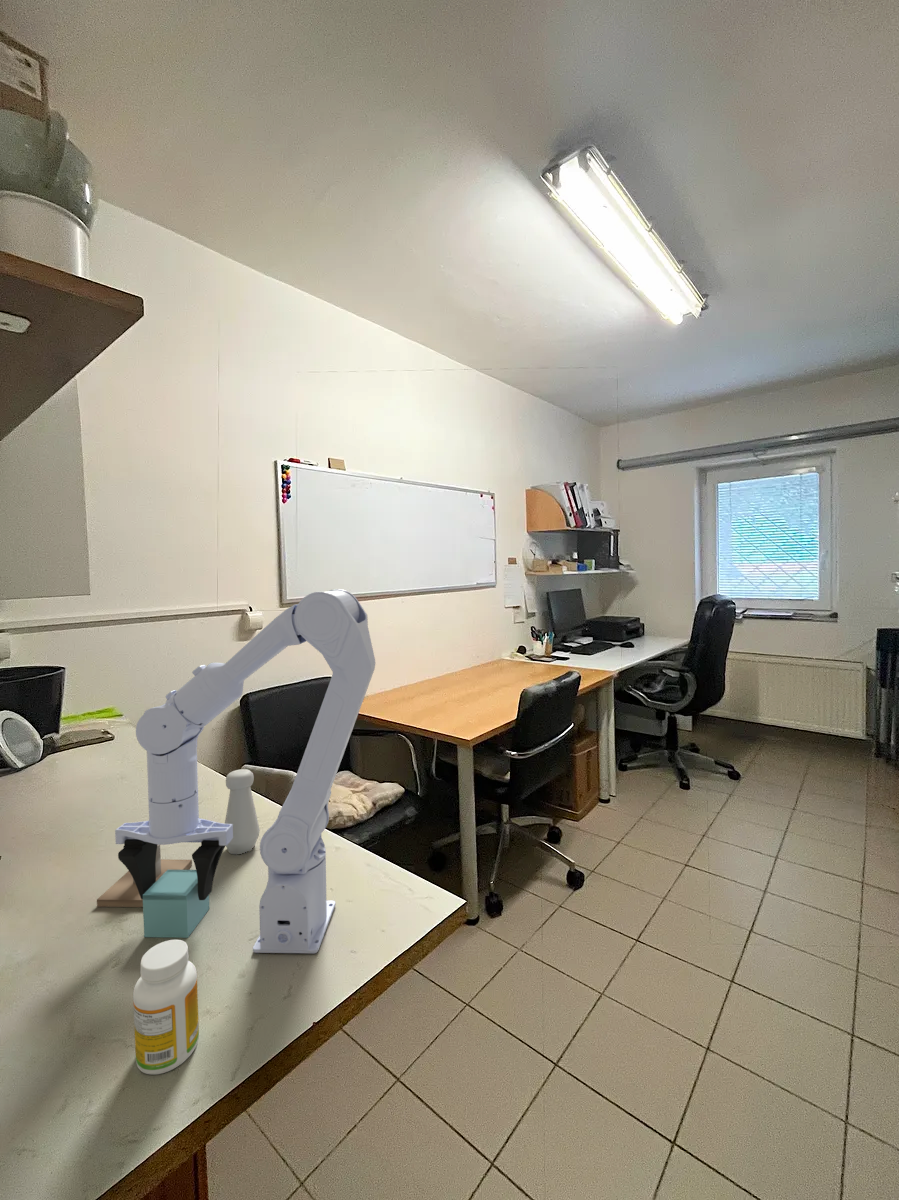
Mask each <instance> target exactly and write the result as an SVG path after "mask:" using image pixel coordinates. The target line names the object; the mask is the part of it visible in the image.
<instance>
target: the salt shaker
mask: <svg viewBox="0 0 899 1200" xmlns="http://www.w3.org/2000/svg"><path fill="white" fill-rule="evenodd" d="M254 778H255V776H254V773H253V772H252V771H251V770H250V769H246V768H242V769H236V770H233V771H230V772H229V773H228V774H227V775H226V777H225V786H226V788H227V789H228V790H229V795H228V801H227V809H226V814H225V820H224V824H233V838H232V840H231V841H230V842H229V843H228V844H227V845H226V846H225V848H226V849H227V852H228V853H229V854H231V855H237V854H241V855H242V853H244V854H246V853H248V852H247V851H249V852H251V851H252V850H253V849H254V847H255V846H254V845H256V843H257V841H258V838H259V837H260V836H259V835H260V830H261V829H260V825H259V820H258V816H257V812H256V807H255V801H254V796H253V793H252V788H251V786H253V784H254ZM252 848H253V849H252ZM250 850H251V851H250ZM245 852H246V853H245Z"/></svg>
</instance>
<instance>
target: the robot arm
mask: <svg viewBox="0 0 899 1200" xmlns="http://www.w3.org/2000/svg"><path fill="white" fill-rule="evenodd" d="M368 619H369V618H368V614H367V612H366V611H365V609H364V607H363V606H362V605H361V603H360V602H359V600H358V599H357V597H356V596H355V595H354V594H353V593H351V592H350V591H348V590H345V589H341V588H333V589H330V590H327V591H314V592H311V593H308V594H307V595H305V596H304V597H303V598H301V600H300V601H299V602H298V603H297V604H293V605H291V606H290V607H288V608H286V609H285V610H284V611H282V612H281V613H280V614H279V615H277V616H276V617H275V618H274V619H273V620H272V621H270V622H269V623H268V624H267V625H266V626H265V627H264V628H263V629H262V630H260V631H259V632H258V633H257V634H256V635H255V636H254V637H253V638H252V639H251V640H250V641H248V642H247V643H246V644H245V645H244V646H243V647H242V648H241V649H240V650H238V651H237V652H236V653H235V654H234V655H233V656H232V657H231V658H230V659H228V661H226V663H225V662H216V661H215V662H211V663H209V664H208V665H206V664H202V665H199V666H197V667H196V668H195V669H194V670H193V671H192V672H191V673H192V674H193V675H194V676H193V677H192V678H191V679H189V680H188V681H187V682H185V684H183V685H182V686H181V687H180V688H179V689H178V690H177V689H174V690H171V691H169V692H168V693H167V694H166V695H165V698H166V701H165V703H163V704H162V705H158V706H154V707H150V708H149V709H146V710H145V711H144V713H143V715H141V717H140V718H139V719H138V721H137V723H136V726H135V737H136V740H137V742H138V744H139V745H140V746H141V747H142V749H144V751H146V767H147V769H146V771H147V795H148V796H147V797H148V798H147V799H148V800H147V802H148V820H143V821H142V820H141V821H134V822H124V823H122V824H121V825H120V826H118V827H117V828H116V829H115V830H114V832H115V835H114V837H115V839H114V840H115V845H123V848H122V849H121V850H120V851H118V853H117V854H118V855H117V857H118V860H119V861H120V862H121V863H122V864H123V865H124V866H125V868H126V870H128V871H129V872H130V873H131V875H132V877H133V879H134V881H135V884H136V886H137V889H138V892H139V894H140V897H141V899H143V894H144V893H145V892H146V891H147V890H148V889H149V888H150V887H151V886H152V885H153V884H154V883H155V882H156V867H155V862H156V852H157V845H160V846H162V845H163V846H164V845H174V844H179V843H194V844H195V843H199V844H200V846H198V847H197V848H196V850H195V851H193V853H192V854H191V857H192V859H191V860H192V862H194V866H195V870H196V872H197V879H198V897H199V900H205V899H206V898H207V896H208V895H209V896H210V894H211V893H212V890H213V884H214V879H215V875H216V871H217V868H218V864H219V862H220V859H221V857H222V854H223V852H224V849H225V848H226V845H227V844H228V843H229V842H230V841H231V840H232V838H233V824H225V822H224V823H222V822H218V821H214V820H209V819H205V818H200V817H199V816H200V814H199V813H200V812H199V811H200V810H199V785H198V784H199V781H198V780H199V776H198V774H199V773H198V751H197V750H198V738H199V736H200V735H201V733H202V732H203V730H204V728H205V727H206V726H207V725H208V724H209V723H211V722H212V721H213V720H214V719H216V718H217V717H218V716H219V715H220V714H221V713H222V712H224V711H226V709H228V708H229V707H230V706H231V705H232V704H234V703H235V702H236V701H237V700H238V699H239V698H240V697H242V695H243V693H244V683H245V680H247V679H248V678H250V676H252V675H253V674H254V673H255V672H257V671H258V670H259V669H260V668H262V667H264V666H265V665H266V664H267V663H268V662H269V661H271V660H272V659H274V658H275V657H276V656H277V655H279V654H280V653H281V652H283V651H284V650H285V649H286V648H288V647H290V646H297V645H298V646H299V645H301V644H303V643H305V642H307V643H309V645H311V646H312V647H313V648H314V649H315V650H317V652H319V653H320V654H321V655H322V656H323V658H324V660H325V662H326V663H327V665H328V666H329V668H330V669H331V671H332V674H331V675H332V676H331V677H330V680H329V683H328V687H327V689H326V691H325V694H324V698H323V700H322V703H321V706H320V708H319V711H318V714H317V715H316V716H317V717H316V719H315V722H314V725H313V728H312V731H311V733H310V736H309V739H308V742H307V745H306V747H305V750H304V753H303V756H302V759H301V761H300V764H299V766H298V770H297V773H296V776H295V777H294V781H293V783H292V786H291V789H290V791H289V793H288V794H287V796H286V798H285V801H283V804H282V806H281V808H280V811H279V813H278V815H277V818H276V819H275V821H273V823H272V825H271V826H270V827H269V828H268V829H266V831H265V832H264V833H263V835H262V837H261V840H260V842H259V852H260V857H261V859H262V861H263V863H264V864H265V865H266V866H267V871H268V873H267V875H268V876H267V877H268V878H267V883H266V887H265V889H264V891H263V893H262V895H261V897H260V900H259V905H258V907H259V909H258V911H259V912H258V913H259V914H258V915H259V935H258V936H257V939H256V941H255V942H254V945H253V946H252V952H253V953H259V954H260V953H261V954H262V953H264V954H265V953H266V954H267V953H268V954H269V953H270V954H275V953H276V954H316V953H317V952H319V949H320V947H321V944H322V942H323V939H324V936H325V934H326V931H327V928H328V926H329V923H330V921H331V918H332V915H333V913H334V911H335V908H336V901H335V900H330V899H329V900H328V899H327V860H326V859H327V856H326V855H327V853H326V849H327V848H326V846H325V843H324V840H323V838H322V833H324V831H325V829H326V828H327V826H328V825H329V821H330V811H329V801H330V798H331V795H332V788H333V784H334V782H335V778H336V776H337V774H338V773H337V772H338V770H339V768H340V765H341V762H342V759H343V757H344V755H345V751H346V748H347V747H348V743H349V740H350V738H351V735H352V732H353V729H354V727H355V723H356V721H357V719H358V715H359V712H360V710H361V707H362V704H363V703H364V699H365V697H366V694H367V691H368V688H369V686H370V682H371V680H372V677H373V674H374V672H375V670H376V669H375V668H376V657H375V654H374V653H375V652H374V648H373V645H372V644H373V643H372V639H371V635H370V630H369V621H368Z"/></svg>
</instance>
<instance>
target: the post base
mask: <svg viewBox="0 0 899 1200" xmlns="http://www.w3.org/2000/svg"><path fill="white" fill-rule="evenodd" d="M192 866H193V859H168V858H167V859H166V858H165V859H162V858H161V845H157V852H156V862H155V867H156V881H157V880H158V879H159V878H160V877H161V876H162V875H163V874H164V873H165V872H166V871H167V870H191V868H192ZM96 906H97V907H103V908H104V907H105V908H106V907H111V908H113V907H114V908H115V907H117V908H124V907H125V908H143V899H141V897H140V894H139V892H138V889H137V886H136V884H135V881H134V879H133V877H132V875H131V873H130V872H129V870H128V871H127V872H126V873H124V874H123V876H121V877H120V878H119V879H118V880H117V881H116V882H115V883H113V885H111V886H110V887H109V888H108V889H107V890H105V892H103V893H102V894H101V895H100V896H98V898H97V899H96Z"/></svg>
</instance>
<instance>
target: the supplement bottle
mask: <svg viewBox="0 0 899 1200" xmlns="http://www.w3.org/2000/svg"><path fill="white" fill-rule="evenodd" d="M189 957H190V956H189V947H188V944H187V942H186V941H184V940H181V939H170V940H165V941H162V942H159V943H157V944H155V945H154V946H152V947H150V948H149V949H148V950H147V951H146V952H145V953H144V954H143V955H142V956H141V960H140V972H139V973H140V977H139V978H138V980H137V981H136V983H135V984H134V988H133V993H132V1004H133V1005H132V1006H133V1025H134V1029H133V1030H134V1048H135V1049H134V1050H135V1062H136V1066H137V1068H138V1069H139V1071H141V1073H144V1074H147V1075H162V1074H164V1073H167V1072H170V1071H172V1070H174V1069H176V1068H177V1067H179V1066H180V1065H182V1064H183V1063H184V1062H185V1061H187V1059H188V1058H190V1056H191V1055H192V1053H193V1052H194V1050H195V1049H196V1047H197V1045H198V1043H199V1039H200V1025H199V1024H200V1023H199V1022H200V1021H199V999H198V998H199V997H198V995H199V994H198V993H199V992H198V974H197V973H198V972H197V969H196V966H195V964H194V963H193V962H191V961H190V960H189Z"/></svg>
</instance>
